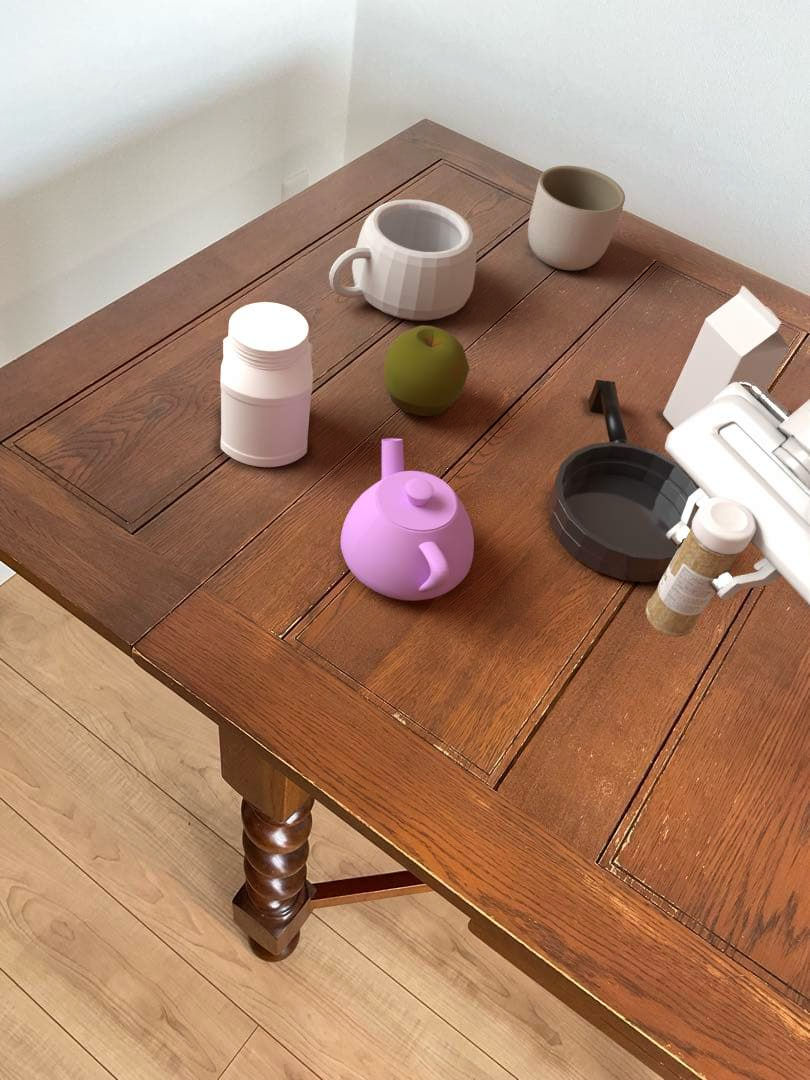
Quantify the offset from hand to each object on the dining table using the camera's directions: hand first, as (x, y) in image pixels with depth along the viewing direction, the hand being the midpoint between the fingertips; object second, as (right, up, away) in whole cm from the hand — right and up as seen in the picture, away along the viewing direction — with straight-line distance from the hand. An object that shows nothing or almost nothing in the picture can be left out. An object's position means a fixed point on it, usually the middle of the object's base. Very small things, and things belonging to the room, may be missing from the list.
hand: (694, 568), depth 79 cm
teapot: (-24, +1, +24) cm, 34 cm away
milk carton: (+14, +16, +44) cm, 49 cm away
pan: (+1, +4, +31) cm, 31 cm away
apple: (-22, +19, +40) cm, 49 cm away
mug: (-25, +36, +54) cm, 69 cm away
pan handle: (+1, +15, +40) cm, 43 cm away
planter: (0, +45, +66) cm, 80 cm away
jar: (-40, +15, +32) cm, 53 cm away
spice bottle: (-1, -5, +6) cm, 8 cm away
